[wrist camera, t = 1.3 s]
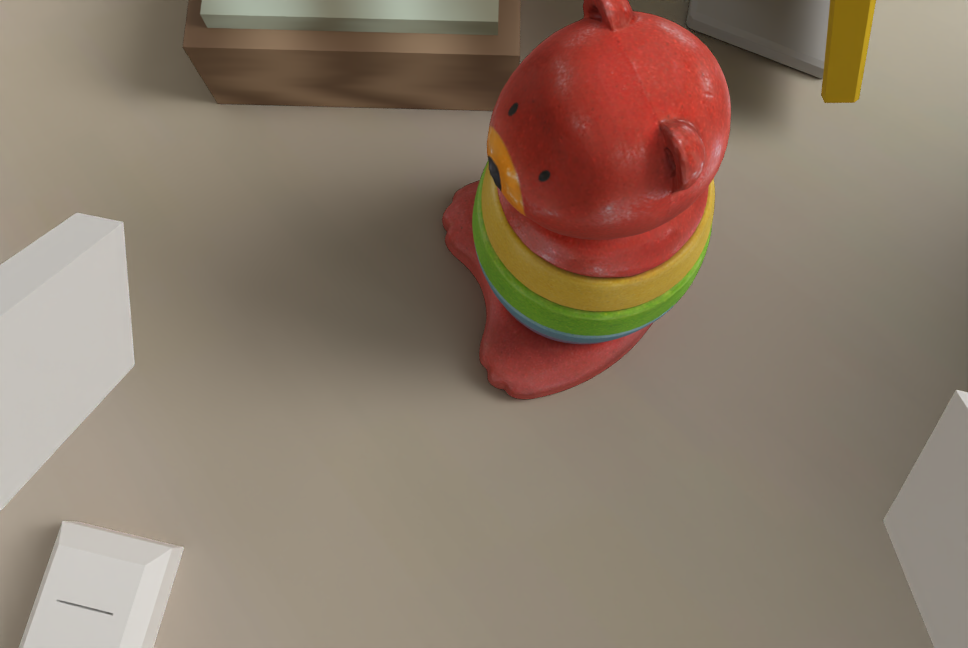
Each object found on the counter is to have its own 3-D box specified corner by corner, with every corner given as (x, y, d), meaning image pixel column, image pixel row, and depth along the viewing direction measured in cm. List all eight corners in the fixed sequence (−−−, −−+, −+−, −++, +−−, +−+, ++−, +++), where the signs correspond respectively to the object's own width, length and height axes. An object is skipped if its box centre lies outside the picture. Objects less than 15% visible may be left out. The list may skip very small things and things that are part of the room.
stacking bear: (432, 199, 40) (395, -48, 23) (629, 147, 41) (736, -131, 24) (494, 411, 38) (504, 311, 20) (702, 352, 38) (881, 207, 21)
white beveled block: (187, 546, 37) (165, 548, 34) (120, 763, 34) (91, 782, 32) (82, 521, 37) (52, 520, 34) (9, 734, 35) (-28, 751, 32)
